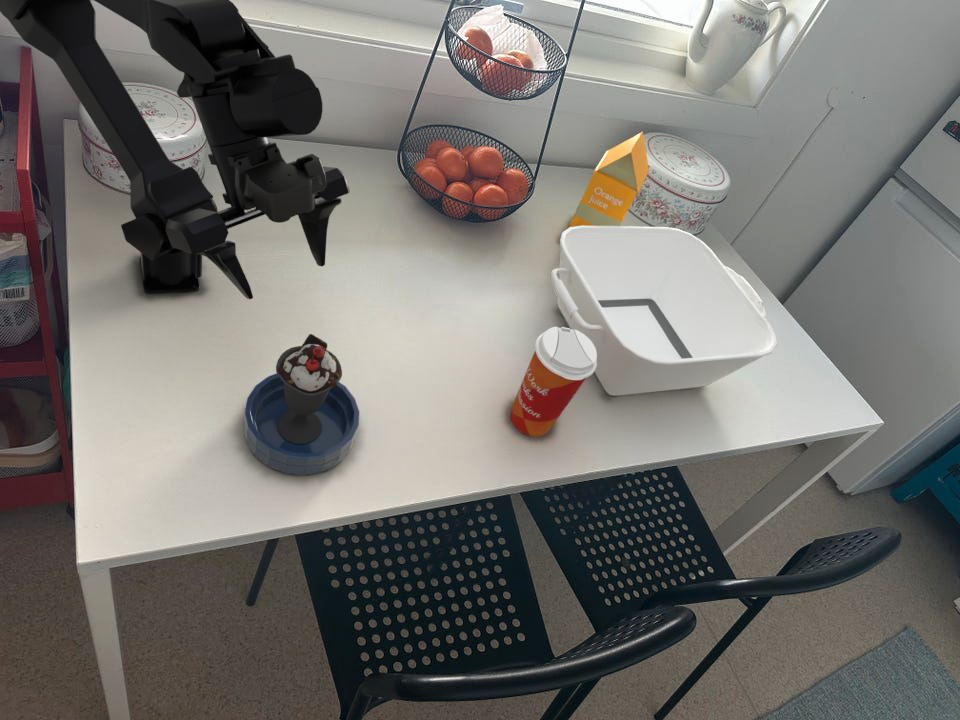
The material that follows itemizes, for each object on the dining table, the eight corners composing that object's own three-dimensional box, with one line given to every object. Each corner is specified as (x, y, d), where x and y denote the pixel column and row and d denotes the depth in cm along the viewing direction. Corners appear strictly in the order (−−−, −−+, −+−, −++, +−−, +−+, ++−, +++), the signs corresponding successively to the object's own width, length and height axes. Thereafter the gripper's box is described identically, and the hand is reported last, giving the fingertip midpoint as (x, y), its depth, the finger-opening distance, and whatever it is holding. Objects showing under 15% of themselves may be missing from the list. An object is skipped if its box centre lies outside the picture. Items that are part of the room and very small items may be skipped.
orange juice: (560, 242, 122) (607, 140, 108) (574, 219, 128) (621, 119, 114) (601, 263, 121) (654, 162, 107) (613, 238, 127) (665, 140, 113)
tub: (673, 285, 123) (711, 227, 114) (759, 408, 107) (811, 351, 98) (498, 290, 108) (526, 223, 99) (569, 432, 93) (609, 368, 84)
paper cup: (499, 393, 94) (534, 318, 84) (553, 399, 96) (594, 327, 86) (505, 441, 89) (544, 367, 79) (562, 447, 91) (607, 376, 81)
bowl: (254, 486, 75) (256, 466, 72) (235, 396, 82) (236, 375, 79) (366, 467, 80) (371, 448, 78) (339, 385, 87) (343, 364, 84)
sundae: (300, 461, 78) (317, 372, 67) (256, 425, 79) (266, 332, 69) (341, 428, 82) (363, 339, 72) (299, 394, 84) (314, 303, 73)
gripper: (182, 172, 60) (244, 333, 68) (358, 114, 70) (396, 260, 78) (136, 165, 68) (197, 311, 75) (301, 113, 78) (340, 246, 86)
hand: (286, 281), depth 78 cm, fingers open, 9 cm apart
